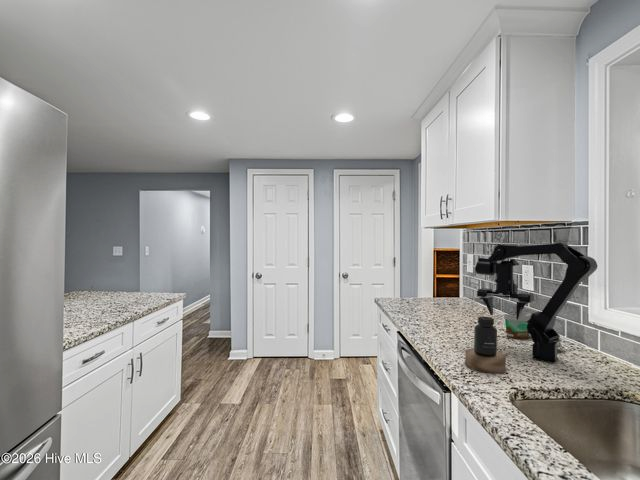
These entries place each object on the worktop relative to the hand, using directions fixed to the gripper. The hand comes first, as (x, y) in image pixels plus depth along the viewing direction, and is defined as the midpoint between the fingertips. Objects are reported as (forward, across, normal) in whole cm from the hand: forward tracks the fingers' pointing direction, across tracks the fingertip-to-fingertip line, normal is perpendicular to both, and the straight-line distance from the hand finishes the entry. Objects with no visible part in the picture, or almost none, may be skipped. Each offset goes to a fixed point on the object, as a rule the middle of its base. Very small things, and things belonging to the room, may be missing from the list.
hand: (504, 317), depth 131 cm
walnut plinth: (+12, -2, +24) cm, 27 cm away
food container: (+12, 0, -20) cm, 23 cm away
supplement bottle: (+8, -2, +24) cm, 25 cm away
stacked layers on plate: (+13, -13, -11) cm, 21 cm away
